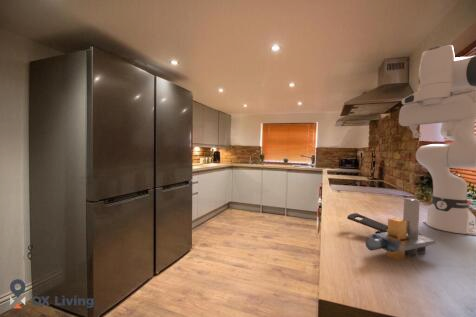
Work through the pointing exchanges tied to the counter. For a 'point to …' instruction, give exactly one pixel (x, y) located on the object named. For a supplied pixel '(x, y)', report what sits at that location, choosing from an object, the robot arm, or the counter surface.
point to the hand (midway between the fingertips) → (432, 136)
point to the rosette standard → (412, 235)
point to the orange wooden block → (397, 235)
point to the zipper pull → (376, 226)
